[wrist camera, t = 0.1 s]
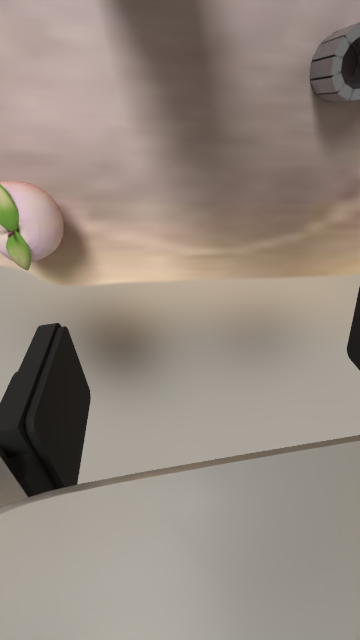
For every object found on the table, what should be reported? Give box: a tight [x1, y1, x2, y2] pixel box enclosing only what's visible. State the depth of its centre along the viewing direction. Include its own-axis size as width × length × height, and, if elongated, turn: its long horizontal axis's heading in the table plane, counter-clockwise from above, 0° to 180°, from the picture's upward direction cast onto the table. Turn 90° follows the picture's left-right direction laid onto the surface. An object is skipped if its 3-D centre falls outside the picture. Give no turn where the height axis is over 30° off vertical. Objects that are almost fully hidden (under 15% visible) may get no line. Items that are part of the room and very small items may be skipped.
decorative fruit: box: [0, 181, 64, 270], centre depth 38 cm, size 9×8×10 cm
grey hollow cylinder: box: [310, 23, 360, 102], centre depth 36 cm, size 6×6×5 cm
